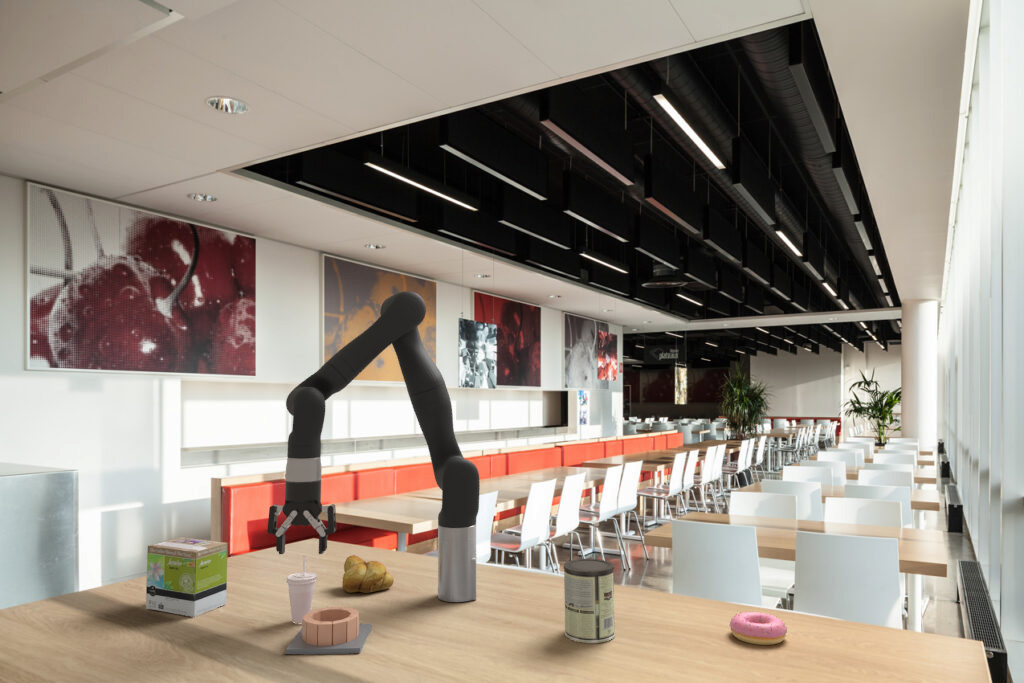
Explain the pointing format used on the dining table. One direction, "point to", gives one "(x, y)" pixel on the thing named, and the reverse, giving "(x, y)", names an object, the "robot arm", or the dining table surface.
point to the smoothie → (301, 592)
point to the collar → (330, 632)
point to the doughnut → (758, 628)
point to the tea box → (186, 576)
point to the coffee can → (589, 600)
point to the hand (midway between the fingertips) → (301, 553)
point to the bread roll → (365, 576)
